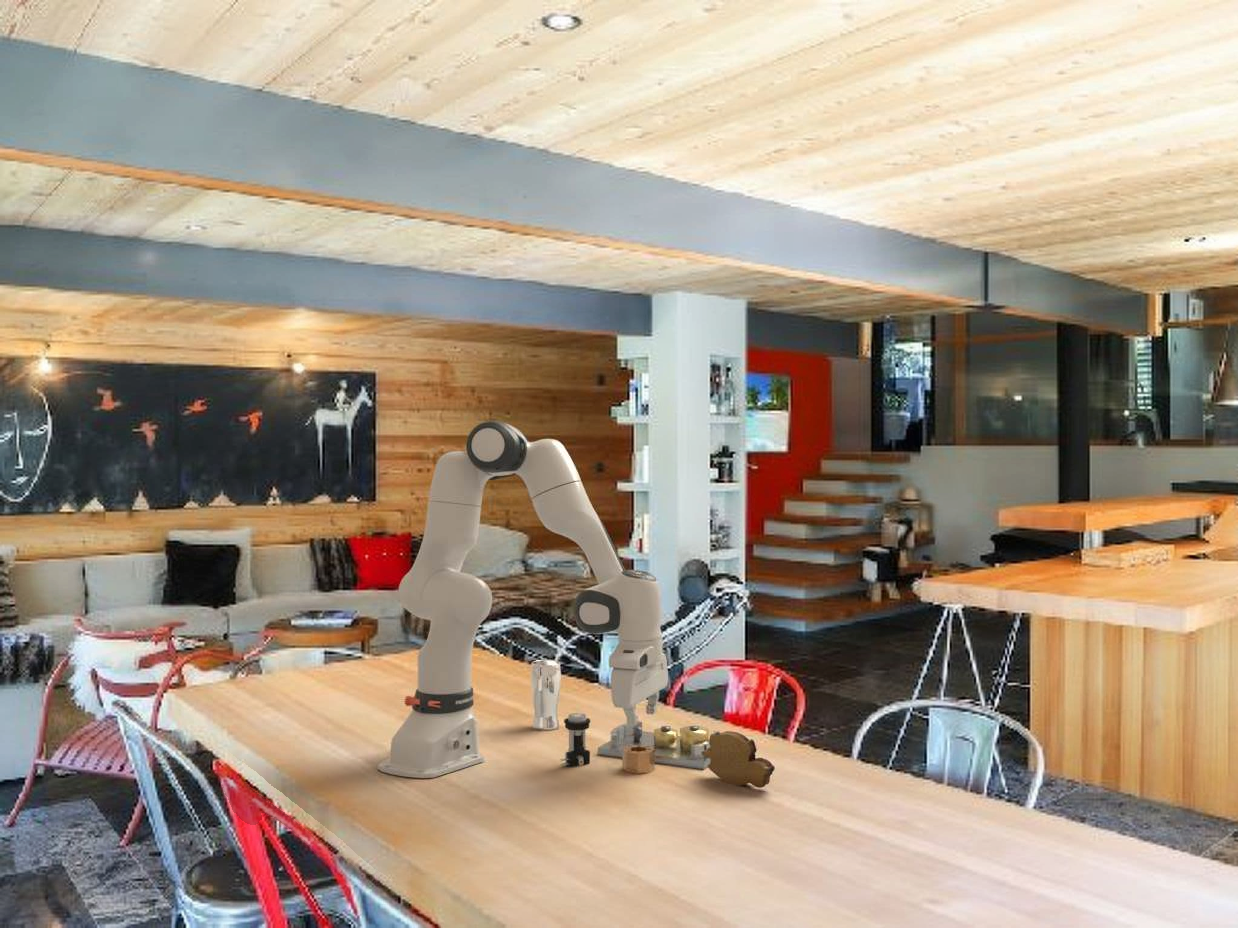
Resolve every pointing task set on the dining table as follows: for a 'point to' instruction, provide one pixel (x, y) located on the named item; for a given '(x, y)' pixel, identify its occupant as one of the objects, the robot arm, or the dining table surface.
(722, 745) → the wooden carving
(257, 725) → the dining table surface
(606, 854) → the dining table surface
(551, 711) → the beer glass
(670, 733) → the carrier
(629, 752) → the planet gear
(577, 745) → the push button
